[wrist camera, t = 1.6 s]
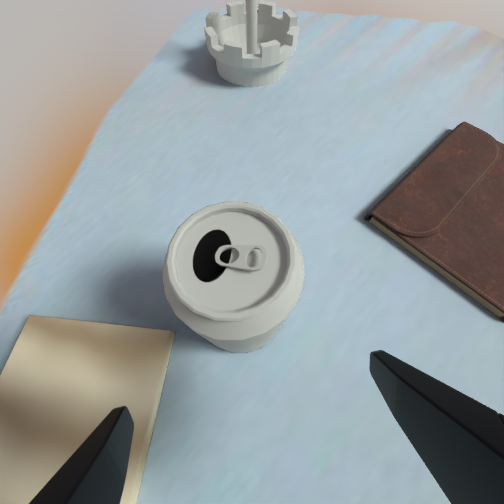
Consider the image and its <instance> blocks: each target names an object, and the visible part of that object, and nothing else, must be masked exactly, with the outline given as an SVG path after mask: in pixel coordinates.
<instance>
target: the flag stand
mask: <svg viewBox="0 0 504 504" xmlns="http://www.w3.org/2000/svg"><path fill="white" fill-rule="evenodd" d="M297 18H298V17H297V16H296V14H295V13H294V12H293V11H291V10H290V9H288V10H285V11H283V16H281V15H279V14H276V3H273V2H269V1H262V0H260V1H259V10H257V0H246V10H244V3H243V1H235V2H231V3H228V4H227V14H226V15H223V16H221V17H220V12H219V11H216V10H213V11H211V12H210V13H209V14H208V15H207V17H206V25H207V27H204V30H205V37H206V44H207V49H208V51H209V53H210V54H211V55H212V56H213V57H214V58H215V59H216V66H217V71H218V73H219V75H220V76H221V77H222V78H223V79H225V80H226V81H228V82H230V83H232V84H235V85H239V86H244V87H258V86H264V85H268V84H271V83H273V82H275V81H277V80H279V79H280V78H281V77H282V76H283V75H284V74H285V72H286V70H287V63H288V58H289V57H290V56H291V55H292V54H293V53H294V52H295V49H296V47H297V40H298V32H299V26H297Z"/></svg>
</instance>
